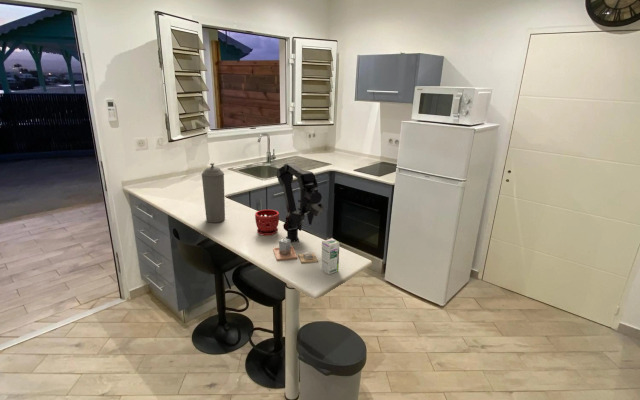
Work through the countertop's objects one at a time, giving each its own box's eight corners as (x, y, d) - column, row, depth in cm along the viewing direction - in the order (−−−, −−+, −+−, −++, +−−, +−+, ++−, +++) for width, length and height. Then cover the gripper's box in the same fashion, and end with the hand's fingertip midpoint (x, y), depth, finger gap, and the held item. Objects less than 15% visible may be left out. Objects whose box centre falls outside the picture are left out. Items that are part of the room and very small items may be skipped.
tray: (273, 249, 177) (273, 247, 177) (292, 247, 180) (292, 246, 180) (276, 260, 166) (276, 258, 166) (297, 258, 169) (297, 256, 169)
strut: (279, 253, 172) (279, 240, 170) (283, 250, 176) (283, 237, 174) (286, 255, 171) (286, 242, 168) (290, 252, 174) (290, 239, 172)
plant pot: (283, 231, 200) (283, 211, 196) (269, 239, 189) (268, 218, 185) (265, 226, 206) (265, 207, 202) (250, 233, 195) (250, 213, 191)
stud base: (298, 255, 172) (298, 251, 171) (313, 254, 174) (313, 249, 173) (301, 263, 165) (301, 258, 164) (318, 261, 167) (318, 257, 166)
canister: (216, 214, 221) (212, 160, 210) (231, 219, 215) (228, 163, 204) (200, 220, 211) (195, 163, 200) (215, 225, 205) (211, 166, 194)
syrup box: (328, 274, 156) (329, 245, 151) (320, 269, 160) (321, 240, 156) (338, 271, 159) (340, 242, 154) (330, 265, 163) (331, 237, 159)
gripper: (309, 206, 157) (308, 238, 162) (329, 196, 173) (328, 225, 178) (289, 201, 163) (289, 232, 168) (310, 192, 178) (310, 220, 183)
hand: (305, 227), depth 174 cm, fingers open, 9 cm apart
